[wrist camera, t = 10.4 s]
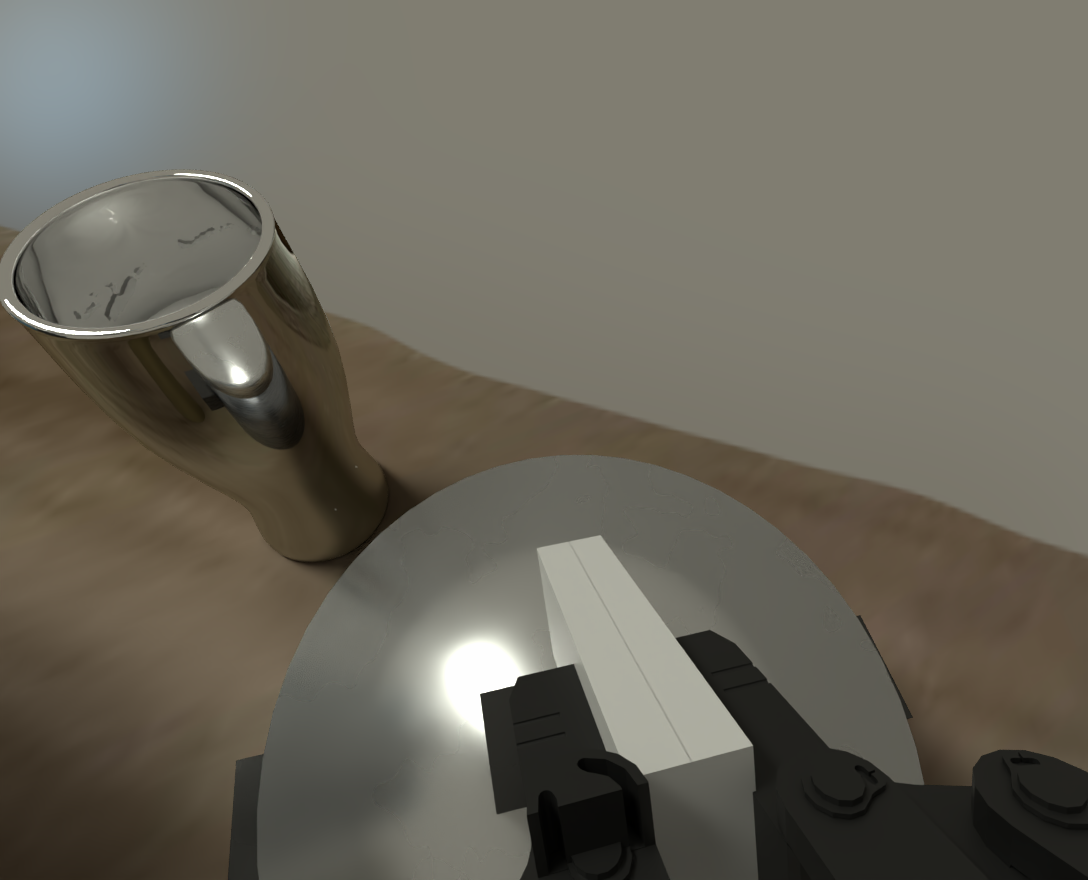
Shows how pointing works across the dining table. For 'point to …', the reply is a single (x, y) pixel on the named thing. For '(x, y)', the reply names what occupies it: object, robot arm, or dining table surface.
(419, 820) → the lid
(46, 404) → the dining table surface
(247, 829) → the cooker pot
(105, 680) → the dining table surface
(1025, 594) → the dining table surface
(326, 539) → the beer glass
